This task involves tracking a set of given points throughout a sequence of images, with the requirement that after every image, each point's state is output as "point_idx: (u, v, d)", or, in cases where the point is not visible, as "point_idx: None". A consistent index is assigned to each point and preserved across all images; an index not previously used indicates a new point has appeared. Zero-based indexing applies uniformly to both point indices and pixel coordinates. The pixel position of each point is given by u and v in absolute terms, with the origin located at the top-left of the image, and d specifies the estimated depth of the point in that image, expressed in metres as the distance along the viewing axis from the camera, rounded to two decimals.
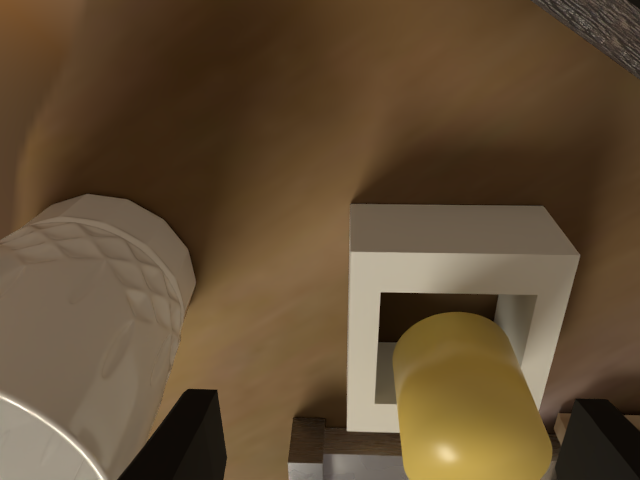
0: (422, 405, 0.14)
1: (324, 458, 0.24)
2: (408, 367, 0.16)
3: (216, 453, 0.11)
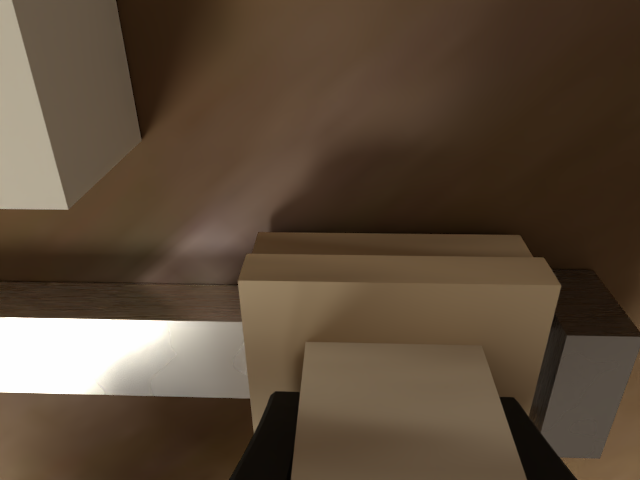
0: None
1: None
2: None
3: None
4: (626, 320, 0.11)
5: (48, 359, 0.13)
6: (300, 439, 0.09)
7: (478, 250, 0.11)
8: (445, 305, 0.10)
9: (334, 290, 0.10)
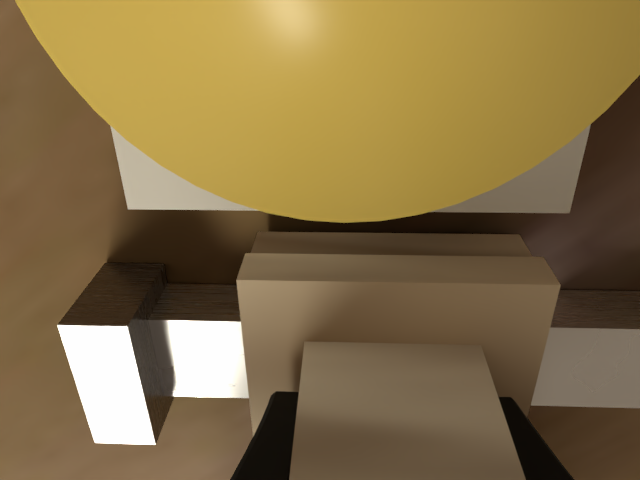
0: None
1: (150, 330, 0.12)
2: None
3: None
4: None
5: None
6: (298, 439, 0.08)
7: (477, 249, 0.11)
8: (444, 305, 0.10)
9: (333, 289, 0.10)
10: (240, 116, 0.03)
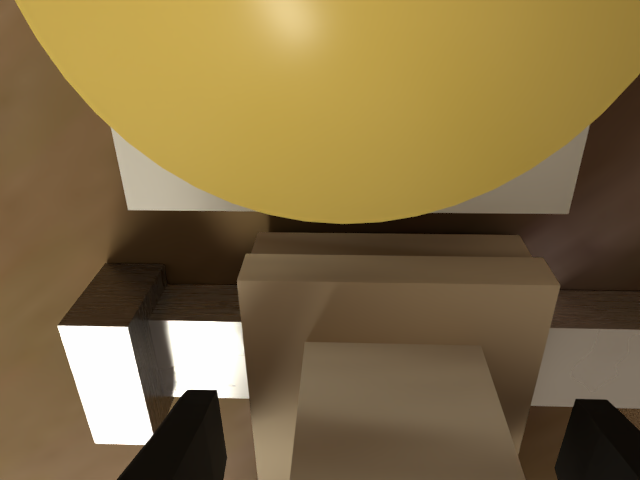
0: None
1: (150, 330, 0.12)
2: None
3: (216, 453, 0.11)
4: None
5: None
6: (299, 439, 0.09)
7: (477, 250, 0.11)
8: (444, 305, 0.10)
9: (333, 290, 0.10)
10: (241, 116, 0.03)
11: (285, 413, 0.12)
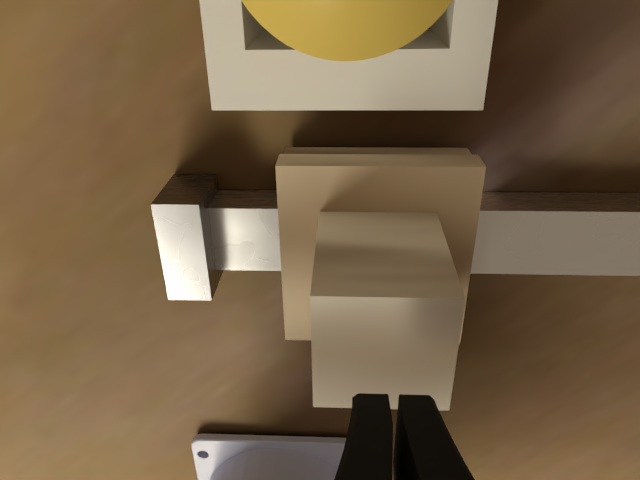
0: None
1: (209, 215, 0.18)
2: None
3: None
4: None
5: None
6: (318, 251, 0.14)
7: (437, 155, 0.17)
8: (411, 182, 0.15)
9: (338, 172, 0.15)
10: (306, 13, 0.09)
11: (305, 268, 0.17)
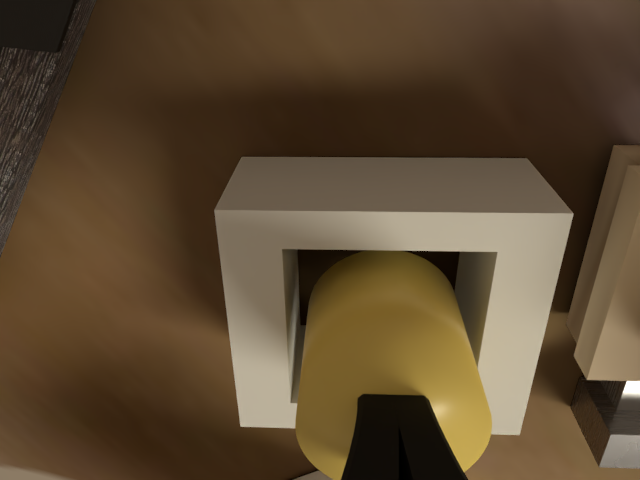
0: None
1: (625, 411, 0.17)
2: None
3: None
4: None
5: None
6: None
7: (615, 193, 0.14)
8: None
9: (610, 328, 0.14)
10: None
11: None
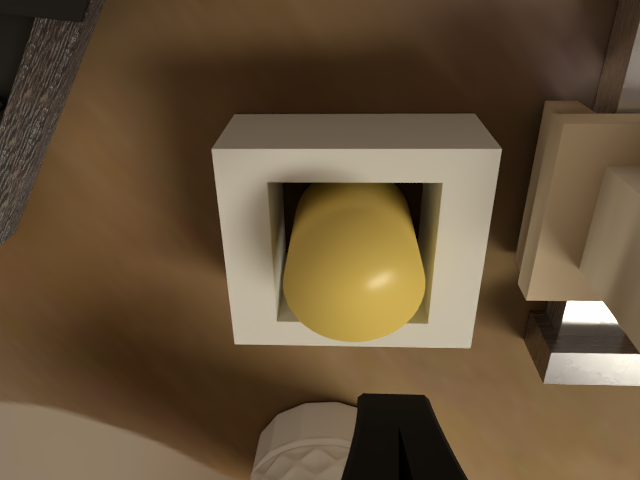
0: None
1: (565, 335, 0.20)
2: None
3: None
4: None
5: None
6: (612, 312, 0.15)
7: (546, 140, 0.17)
8: (566, 191, 0.16)
9: (542, 253, 0.17)
10: (397, 305, 0.15)
11: None
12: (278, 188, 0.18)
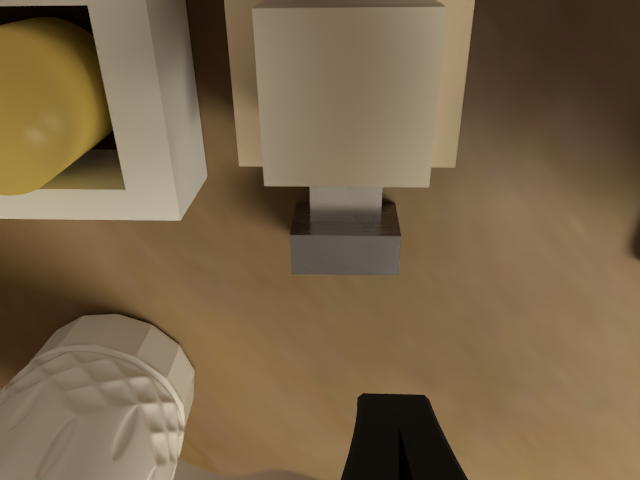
0: None
1: (317, 221, 0.18)
2: None
3: None
4: None
5: None
6: None
7: None
8: (244, 25, 0.14)
9: (240, 105, 0.15)
10: (40, 147, 0.13)
11: None
12: None
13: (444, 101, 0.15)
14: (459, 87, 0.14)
